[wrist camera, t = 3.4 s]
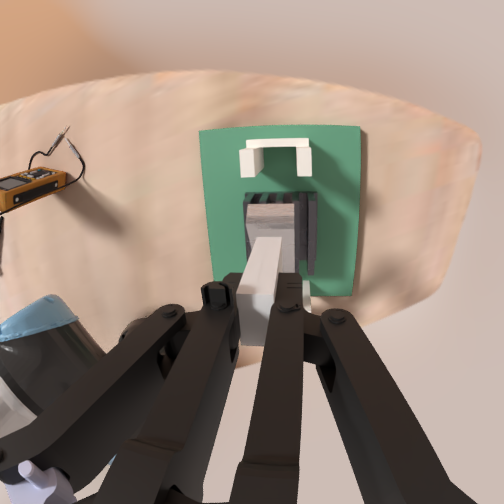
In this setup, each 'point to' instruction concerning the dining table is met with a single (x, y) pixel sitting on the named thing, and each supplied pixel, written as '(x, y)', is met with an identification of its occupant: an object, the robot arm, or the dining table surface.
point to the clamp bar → (274, 228)
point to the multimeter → (32, 183)
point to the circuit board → (285, 179)
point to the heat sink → (303, 221)
